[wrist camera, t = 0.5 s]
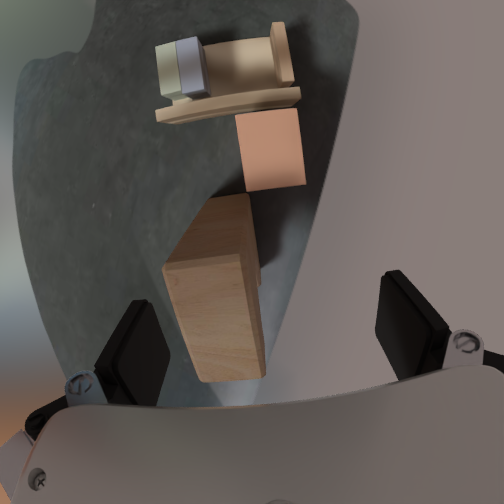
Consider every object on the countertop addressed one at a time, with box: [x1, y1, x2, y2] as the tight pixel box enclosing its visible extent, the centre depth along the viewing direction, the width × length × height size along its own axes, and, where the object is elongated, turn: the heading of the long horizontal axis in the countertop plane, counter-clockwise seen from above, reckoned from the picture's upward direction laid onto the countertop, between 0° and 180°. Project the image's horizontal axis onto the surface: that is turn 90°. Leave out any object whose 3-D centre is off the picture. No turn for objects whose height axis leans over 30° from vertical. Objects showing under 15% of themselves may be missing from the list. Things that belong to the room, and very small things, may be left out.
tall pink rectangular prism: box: [235, 108, 306, 192], centre depth 28 cm, size 6×5×12 cm
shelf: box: [155, 22, 301, 124], centre depth 26 cm, size 10×14×8 cm
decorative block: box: [162, 193, 266, 382], centre depth 29 cm, size 11×6×20 cm, turn 7°
